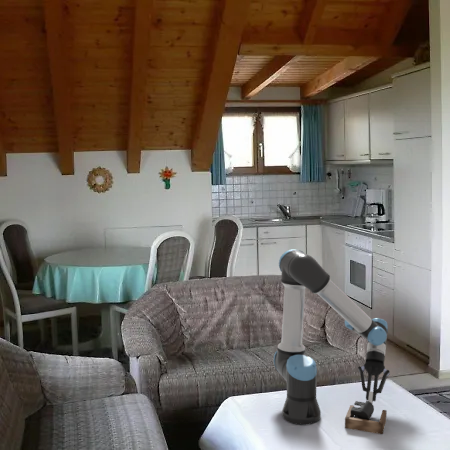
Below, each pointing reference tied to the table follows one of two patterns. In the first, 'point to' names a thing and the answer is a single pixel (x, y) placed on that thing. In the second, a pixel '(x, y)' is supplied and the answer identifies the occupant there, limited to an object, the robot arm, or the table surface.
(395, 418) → the table surface
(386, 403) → the table surface
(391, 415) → the table surface
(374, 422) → the corral
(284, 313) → the robot arm
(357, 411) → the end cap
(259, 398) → the table surface
